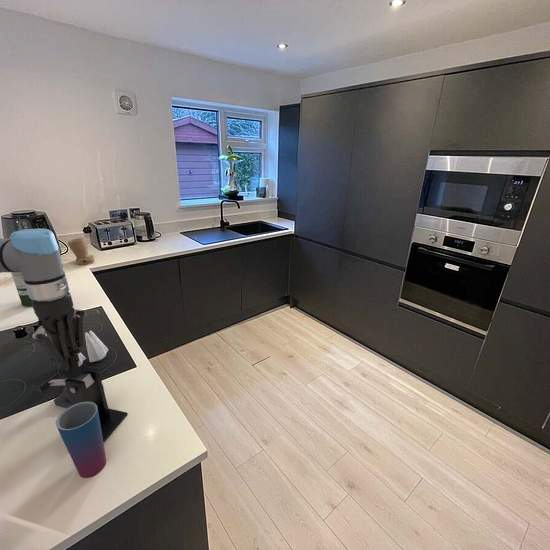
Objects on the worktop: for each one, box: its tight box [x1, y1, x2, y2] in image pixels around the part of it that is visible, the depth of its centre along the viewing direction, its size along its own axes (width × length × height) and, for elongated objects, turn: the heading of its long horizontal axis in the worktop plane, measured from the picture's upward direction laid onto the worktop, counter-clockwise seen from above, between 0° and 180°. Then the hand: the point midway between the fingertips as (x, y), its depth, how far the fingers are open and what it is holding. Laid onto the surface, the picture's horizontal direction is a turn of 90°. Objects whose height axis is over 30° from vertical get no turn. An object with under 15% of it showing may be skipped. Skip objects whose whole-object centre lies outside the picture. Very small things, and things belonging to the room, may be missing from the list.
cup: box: [55, 402, 107, 479], centre depth 59 cm, size 7×7×15 cm
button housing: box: [53, 383, 105, 409], centre depth 78 cm, size 8×8×4 cm
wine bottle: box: [8, 237, 33, 308], centre depth 124 cm, size 8×8×30 cm
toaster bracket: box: [65, 366, 129, 444], centre depth 68 cm, size 11×9×16 cm
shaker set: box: [78, 330, 109, 367], centre depth 91 cm, size 12×4×11 cm, turn 119°
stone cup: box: [67, 237, 95, 265], centre depth 179 cm, size 15×12×15 cm
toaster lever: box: [36, 373, 94, 394], centre depth 67 cm, size 13×5×2 cm, turn 77°
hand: (74, 375), depth 76 cm, fingers closed
